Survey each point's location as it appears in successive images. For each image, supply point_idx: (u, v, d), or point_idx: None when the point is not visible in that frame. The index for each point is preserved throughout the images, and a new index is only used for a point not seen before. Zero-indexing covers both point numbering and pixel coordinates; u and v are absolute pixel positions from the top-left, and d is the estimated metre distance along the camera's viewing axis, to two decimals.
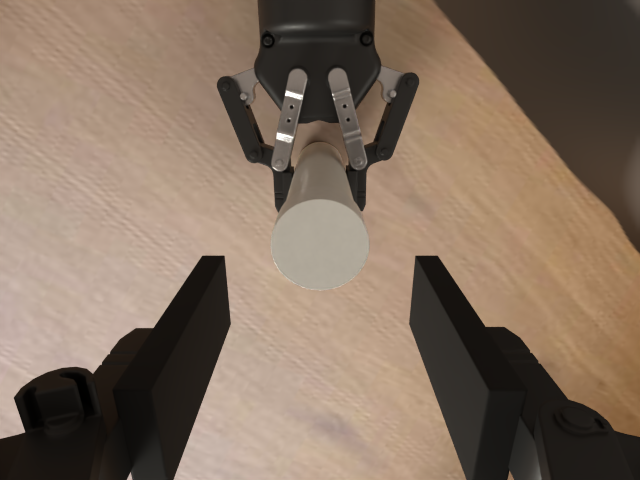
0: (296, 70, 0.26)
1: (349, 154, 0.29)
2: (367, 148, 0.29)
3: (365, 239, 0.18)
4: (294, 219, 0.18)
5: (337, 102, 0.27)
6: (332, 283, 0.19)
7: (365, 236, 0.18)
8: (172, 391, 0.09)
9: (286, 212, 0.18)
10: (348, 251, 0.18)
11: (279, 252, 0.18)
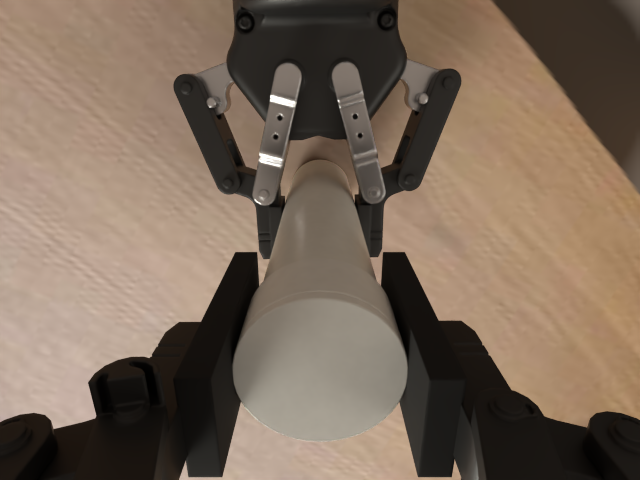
0: (286, 65, 0.18)
1: (361, 182, 0.21)
2: (385, 174, 0.21)
3: (401, 364, 0.10)
4: (273, 332, 0.10)
5: (345, 111, 0.19)
6: (341, 431, 0.11)
7: (401, 359, 0.10)
8: (223, 382, 0.09)
9: (258, 320, 0.10)
10: (370, 383, 0.10)
11: (248, 385, 0.10)
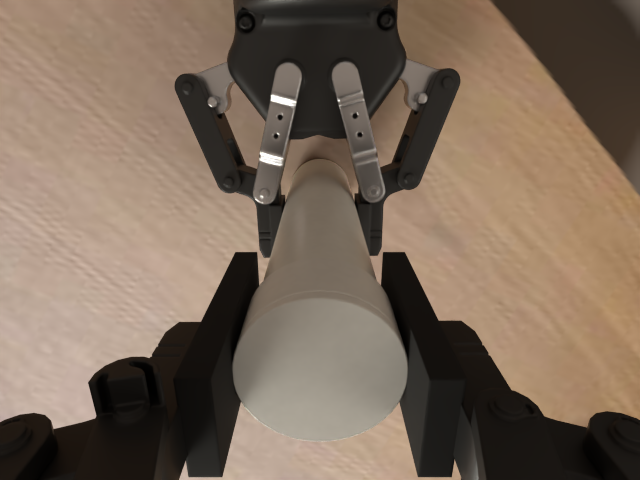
0: (286, 65, 0.18)
1: (360, 181, 0.21)
2: (385, 173, 0.21)
3: (265, 321, 0.10)
4: (298, 425, 0.11)
5: (344, 110, 0.19)
6: (375, 327, 0.10)
7: (260, 323, 0.10)
8: (224, 382, 0.09)
9: (295, 437, 0.11)
10: (302, 333, 0.10)
11: (363, 420, 0.11)
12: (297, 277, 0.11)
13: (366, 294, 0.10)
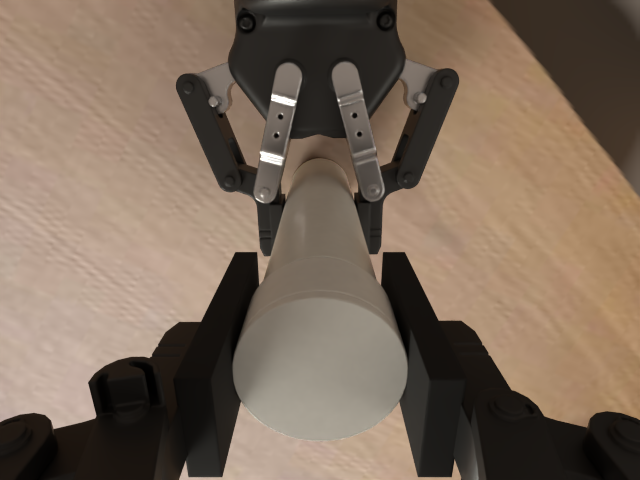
0: (286, 65, 0.18)
1: (360, 180, 0.21)
2: (384, 172, 0.21)
3: (292, 433, 0.11)
4: (387, 366, 0.10)
5: (344, 110, 0.19)
6: (244, 360, 0.10)
7: (296, 434, 0.11)
8: (224, 382, 0.09)
9: (405, 360, 0.10)
10: (286, 405, 0.11)
11: (349, 316, 0.10)
12: None
13: None
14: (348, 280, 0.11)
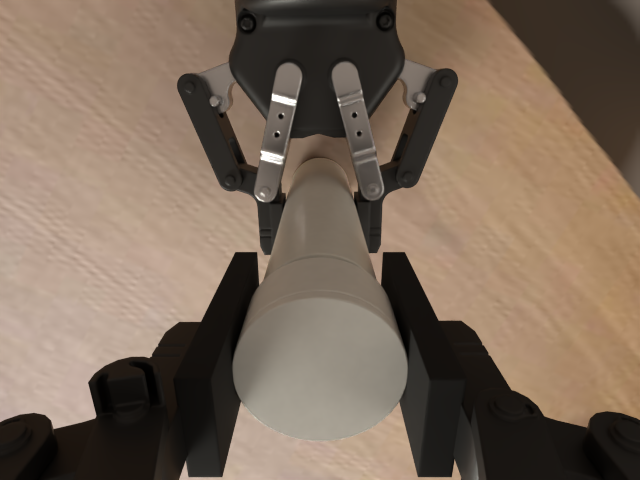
0: (287, 65, 0.19)
1: (360, 180, 0.21)
2: (384, 171, 0.22)
3: (402, 366, 0.10)
4: (275, 330, 0.10)
5: (344, 110, 0.19)
6: (339, 431, 0.11)
7: (402, 361, 0.10)
8: (224, 382, 0.09)
9: (260, 318, 0.10)
10: (370, 383, 0.10)
11: (247, 382, 0.10)
12: None
13: None
14: None
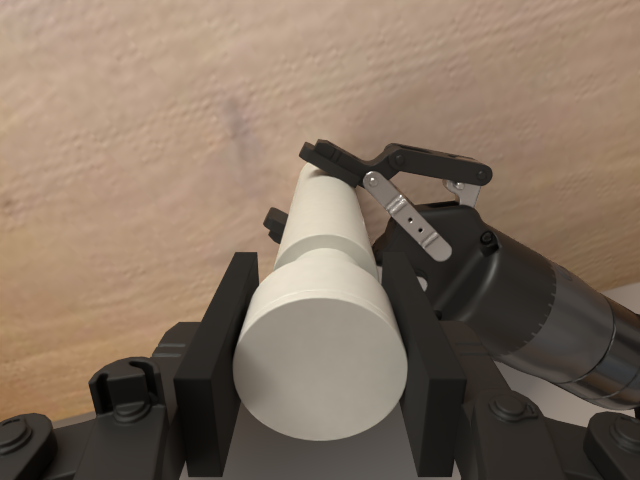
0: (449, 254, 0.24)
1: None
2: None
3: (401, 365, 0.10)
4: (275, 330, 0.10)
5: None
6: (339, 431, 0.11)
7: (402, 360, 0.10)
8: (224, 382, 0.09)
9: (260, 318, 0.10)
10: (370, 383, 0.10)
11: (248, 382, 0.10)
12: None
13: None
14: None
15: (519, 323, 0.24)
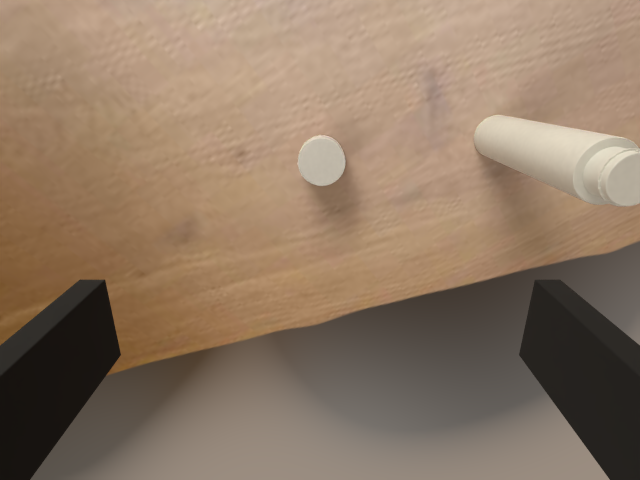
0: None
1: None
2: None
3: (343, 159, 0.38)
4: (310, 148, 0.38)
5: None
6: (327, 182, 0.39)
7: (343, 158, 0.38)
8: None
9: (306, 144, 0.37)
10: (335, 165, 0.38)
11: (302, 165, 0.38)
12: None
13: None
14: None
15: None
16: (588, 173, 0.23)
